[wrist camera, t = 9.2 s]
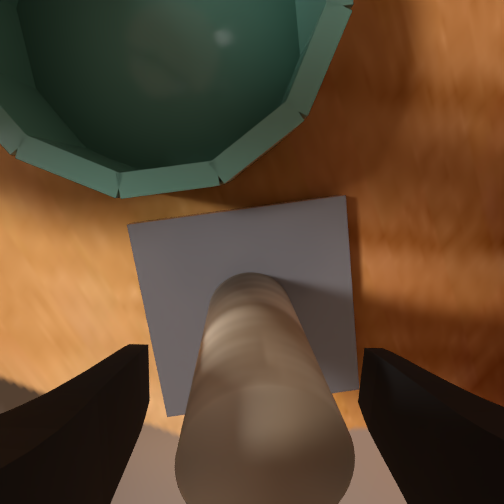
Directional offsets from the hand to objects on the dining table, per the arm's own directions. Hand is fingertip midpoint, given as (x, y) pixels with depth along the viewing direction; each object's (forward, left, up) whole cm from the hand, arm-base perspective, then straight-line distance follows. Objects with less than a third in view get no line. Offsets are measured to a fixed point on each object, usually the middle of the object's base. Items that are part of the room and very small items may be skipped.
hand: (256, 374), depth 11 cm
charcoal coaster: (0, 0, -6) cm, 6 cm away
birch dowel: (0, 0, -5) cm, 5 cm away
